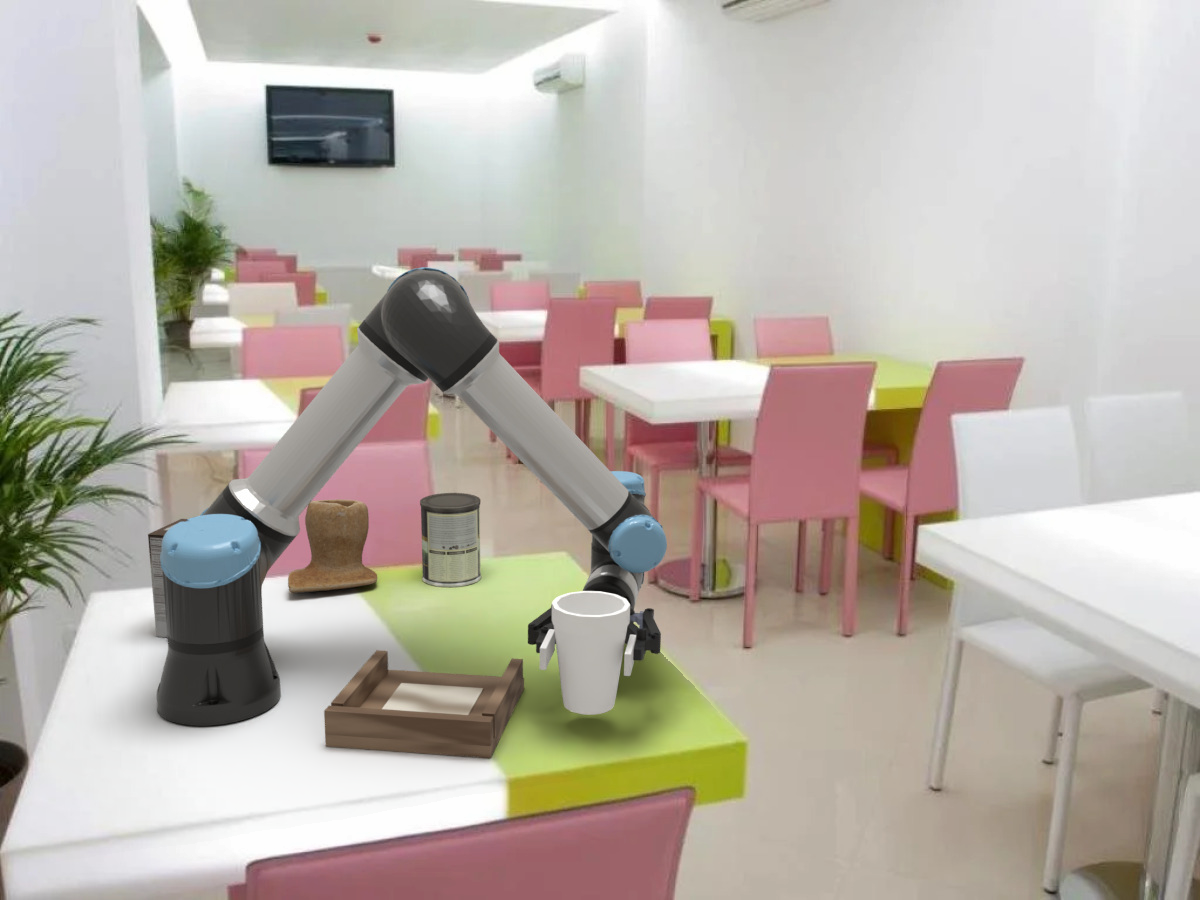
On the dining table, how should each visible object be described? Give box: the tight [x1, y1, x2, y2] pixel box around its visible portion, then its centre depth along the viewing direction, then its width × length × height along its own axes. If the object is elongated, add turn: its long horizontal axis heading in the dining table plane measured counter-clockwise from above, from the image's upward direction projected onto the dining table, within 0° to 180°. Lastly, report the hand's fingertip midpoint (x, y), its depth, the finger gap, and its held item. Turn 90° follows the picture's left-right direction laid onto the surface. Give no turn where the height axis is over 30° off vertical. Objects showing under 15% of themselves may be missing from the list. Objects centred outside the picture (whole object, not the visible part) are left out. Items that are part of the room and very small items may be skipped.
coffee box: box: [147, 518, 188, 638], centre depth 170 cm, size 9×6×16 cm
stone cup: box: [287, 499, 378, 594], centre depth 190 cm, size 15×12×15 cm
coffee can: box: [419, 492, 482, 588], centre depth 195 cm, size 10×10×14 cm
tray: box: [323, 649, 525, 759], centre depth 142 cm, size 20×20×4 cm
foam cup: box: [551, 590, 630, 716], centre depth 138 cm, size 10×9×13 cm
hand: (584, 662), depth 133 cm, fingers closed on foam cup, 9 cm apart
